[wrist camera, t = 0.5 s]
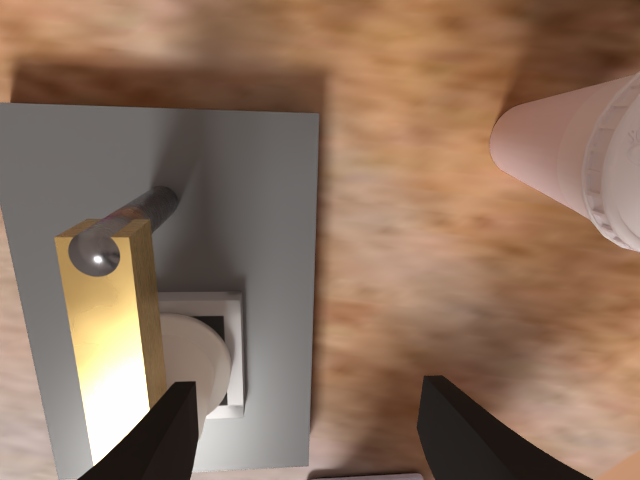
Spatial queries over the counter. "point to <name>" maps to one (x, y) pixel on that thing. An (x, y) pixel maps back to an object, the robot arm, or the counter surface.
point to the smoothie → (580, 153)
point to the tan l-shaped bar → (116, 314)
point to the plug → (196, 360)
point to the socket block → (177, 255)
